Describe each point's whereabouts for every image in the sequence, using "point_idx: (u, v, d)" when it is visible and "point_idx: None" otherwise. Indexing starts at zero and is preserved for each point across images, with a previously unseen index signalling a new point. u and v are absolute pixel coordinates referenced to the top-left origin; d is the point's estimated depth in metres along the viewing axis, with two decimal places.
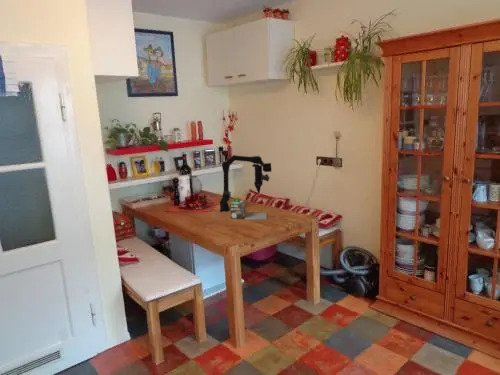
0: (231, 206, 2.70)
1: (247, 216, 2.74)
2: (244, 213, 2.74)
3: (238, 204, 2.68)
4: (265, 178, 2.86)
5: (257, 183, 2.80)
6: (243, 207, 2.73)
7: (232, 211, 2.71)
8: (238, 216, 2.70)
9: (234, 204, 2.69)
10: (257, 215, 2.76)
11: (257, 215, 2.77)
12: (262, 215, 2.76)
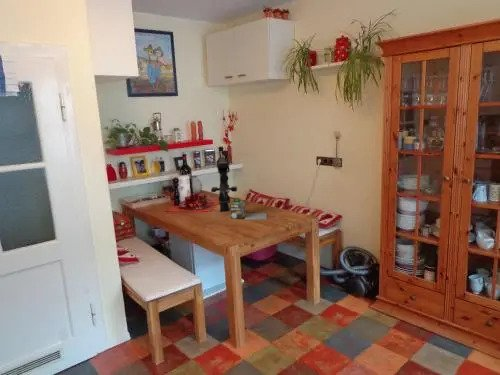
0: (231, 206, 2.70)
1: (247, 216, 2.74)
2: (244, 213, 2.74)
3: (238, 204, 2.68)
4: (219, 187, 2.66)
5: None
6: (243, 207, 2.73)
7: (232, 211, 2.71)
8: (238, 216, 2.70)
9: (234, 204, 2.69)
10: (257, 215, 2.76)
11: (257, 215, 2.77)
12: (262, 215, 2.76)
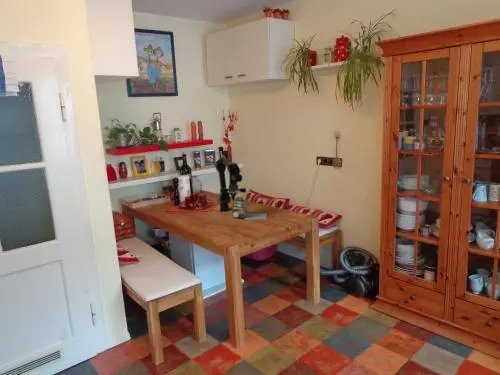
0: (234, 205, 2.69)
1: (247, 216, 2.74)
2: (245, 213, 2.74)
3: (242, 204, 2.67)
4: None
5: None
6: (245, 207, 2.72)
7: (234, 210, 2.70)
8: (240, 216, 2.69)
9: (237, 203, 2.68)
10: (257, 215, 2.76)
11: (257, 215, 2.77)
12: (262, 215, 2.76)
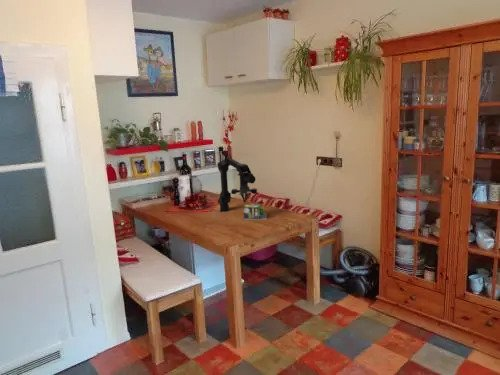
0: (255, 209, 2.65)
1: None
2: None
3: (258, 216, 2.66)
4: (240, 189, 2.65)
5: None
6: None
7: (250, 209, 2.66)
8: (245, 215, 2.68)
9: (257, 212, 2.66)
10: None
11: None
12: (262, 215, 2.76)
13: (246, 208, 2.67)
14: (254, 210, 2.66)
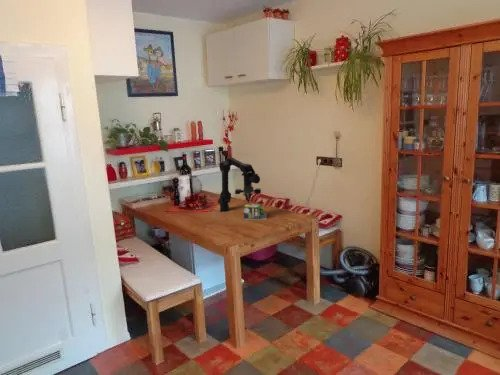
0: (255, 209, 2.65)
1: None
2: None
3: (258, 216, 2.66)
4: (244, 189, 2.65)
5: None
6: None
7: (250, 209, 2.66)
8: (245, 215, 2.68)
9: (257, 212, 2.66)
10: None
11: None
12: (262, 215, 2.76)
13: (246, 208, 2.67)
14: (254, 210, 2.66)
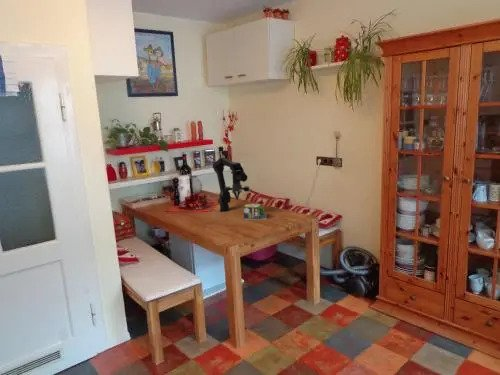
0: (255, 209, 2.65)
1: None
2: None
3: (258, 216, 2.66)
4: None
5: None
6: None
7: (250, 209, 2.66)
8: (245, 215, 2.68)
9: (257, 212, 2.66)
10: None
11: None
12: (262, 215, 2.76)
13: (246, 208, 2.67)
14: (254, 210, 2.66)
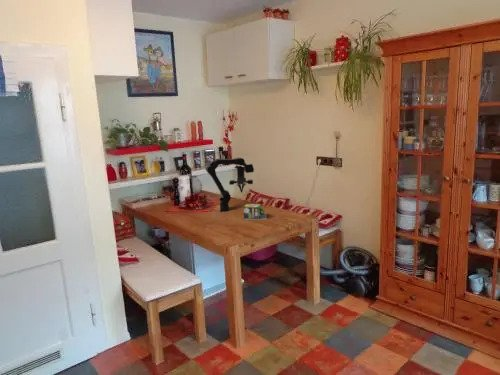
0: (255, 209, 2.65)
1: None
2: None
3: (258, 216, 2.66)
4: None
5: None
6: None
7: (250, 209, 2.66)
8: (245, 215, 2.68)
9: (257, 212, 2.66)
10: None
11: None
12: (262, 215, 2.76)
13: (246, 208, 2.67)
14: (254, 210, 2.66)
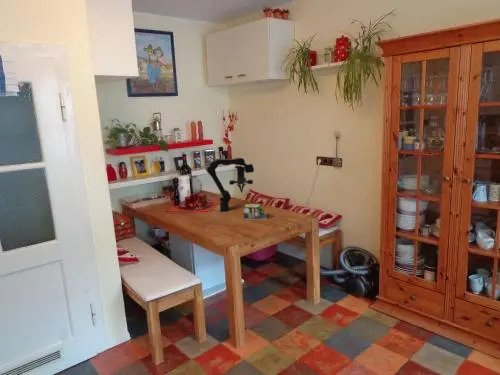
0: (255, 209, 2.65)
1: None
2: None
3: (258, 216, 2.66)
4: None
5: None
6: None
7: (250, 209, 2.66)
8: (245, 215, 2.68)
9: (257, 212, 2.66)
10: None
11: None
12: (262, 215, 2.76)
13: (246, 208, 2.67)
14: (254, 210, 2.66)
